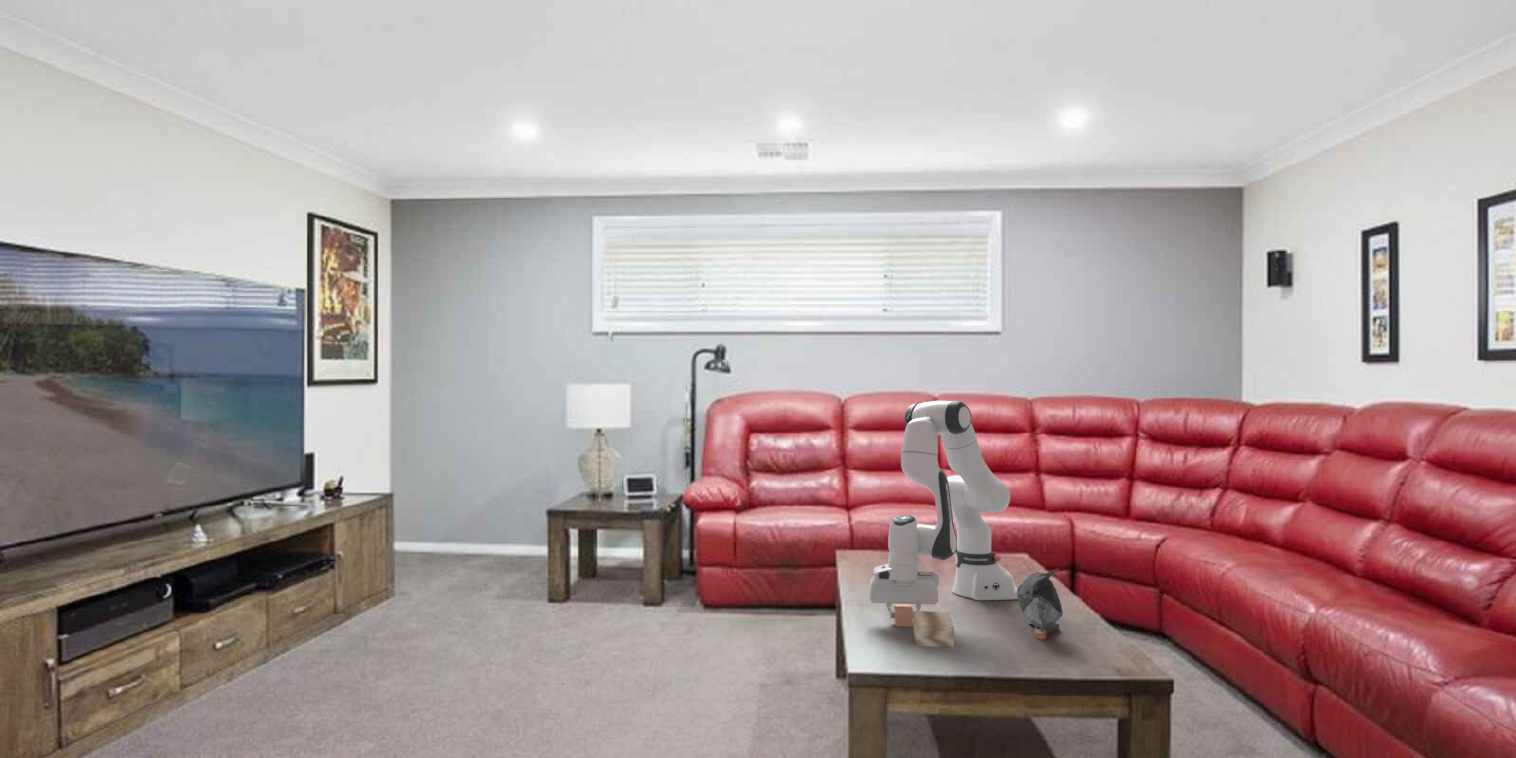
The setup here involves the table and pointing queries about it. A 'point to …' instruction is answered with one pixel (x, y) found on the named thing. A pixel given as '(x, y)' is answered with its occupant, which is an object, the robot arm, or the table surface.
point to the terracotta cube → (903, 615)
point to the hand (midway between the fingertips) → (903, 618)
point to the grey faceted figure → (1040, 603)
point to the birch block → (933, 629)
